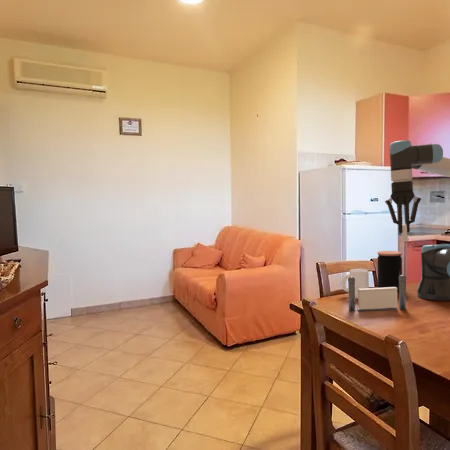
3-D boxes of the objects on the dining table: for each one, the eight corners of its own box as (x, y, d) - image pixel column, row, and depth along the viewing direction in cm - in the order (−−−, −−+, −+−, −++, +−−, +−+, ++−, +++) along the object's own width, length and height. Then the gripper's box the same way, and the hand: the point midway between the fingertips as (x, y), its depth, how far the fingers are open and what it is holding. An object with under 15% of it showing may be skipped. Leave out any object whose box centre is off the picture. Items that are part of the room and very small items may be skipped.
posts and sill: (404, 307, 149) (404, 274, 148) (407, 309, 146) (407, 275, 145) (347, 309, 149) (346, 276, 148) (349, 311, 147) (348, 277, 146)
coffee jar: (404, 292, 172) (404, 253, 171) (380, 292, 174) (379, 254, 173) (398, 287, 182) (398, 250, 181) (375, 286, 184) (375, 250, 183)
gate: (395, 306, 148) (395, 286, 148) (397, 307, 146) (397, 288, 146) (358, 308, 148) (358, 288, 147) (360, 309, 146) (359, 289, 145)
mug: (340, 293, 174) (339, 268, 173) (367, 294, 171) (366, 268, 171) (342, 298, 166) (341, 272, 165) (370, 298, 163) (369, 272, 163)
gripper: (417, 179, 147) (420, 238, 148) (382, 182, 150) (385, 240, 152) (422, 179, 140) (425, 241, 141) (385, 182, 143) (388, 243, 144)
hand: (404, 240), depth 146 cm, fingers closed
